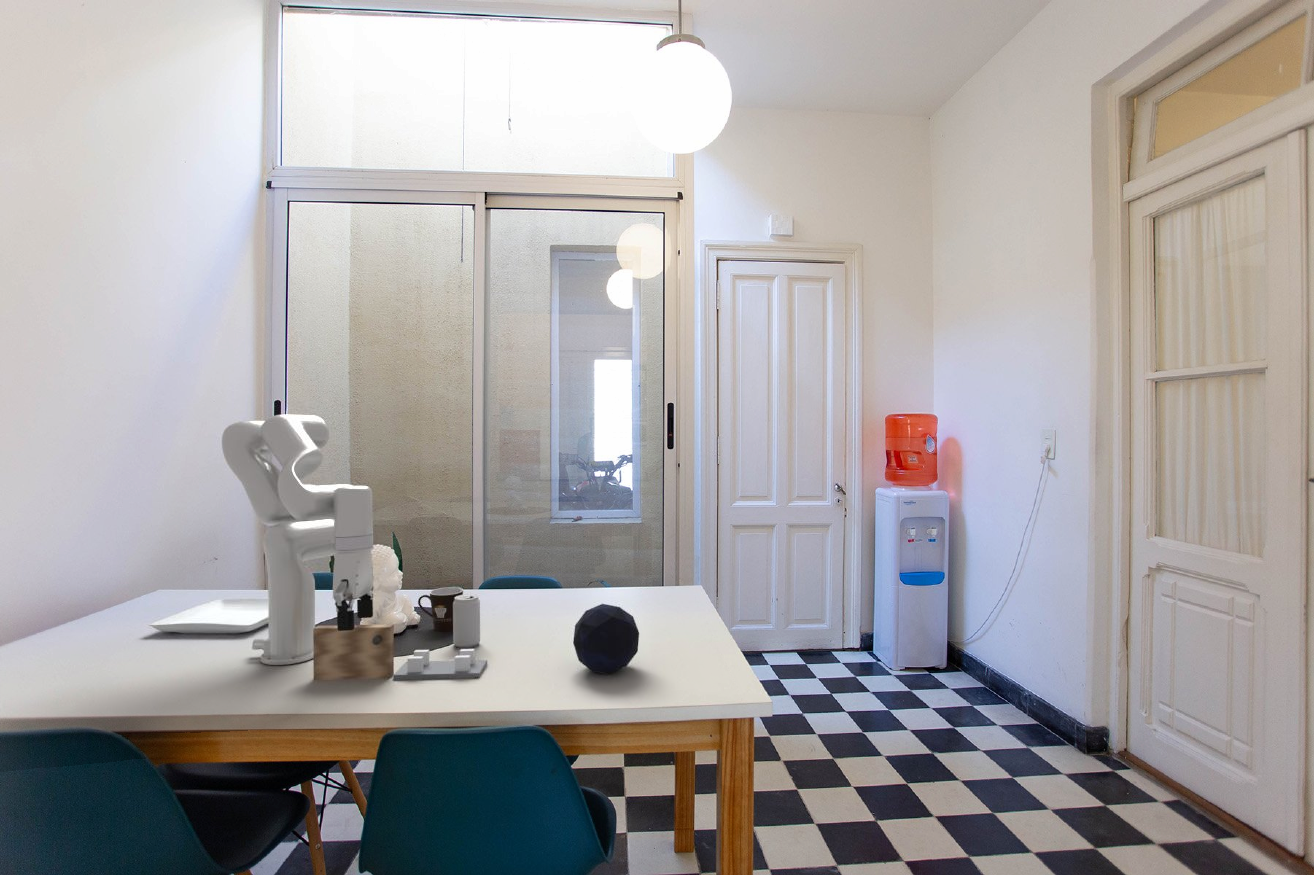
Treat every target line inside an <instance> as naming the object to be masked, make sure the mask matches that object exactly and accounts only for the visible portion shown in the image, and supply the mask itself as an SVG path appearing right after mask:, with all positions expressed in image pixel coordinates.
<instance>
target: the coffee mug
mask: <svg viewBox="0 0 1314 875" xmlns="http://www.w3.org/2000/svg"><path fill="white" fill-rule="evenodd" d="M459 595H464V589H463V588H461V587H453V586H452V587H440V588H435V589H432V590H430V591H429V595H427V594H423V595H421V596H419V598H418V601H417V604H418V606H419V608H420V609H421V610H422V611H423V612H424V613H425V614H426V615H428V616H430V618H432V621H433V622H432V624H433V630H434V631H435V632H438V633H439V632H440V633H447V632H453V602H454V601H455V597H456V596H459ZM423 598H427V599H429V601H430V606H431V612H430V611H428V610H427V609H426V608H424V607H423V606H422V604H421V601H422V599H423Z"/></svg>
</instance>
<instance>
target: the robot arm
mask: <svg viewBox="0 0 1314 875" xmlns="http://www.w3.org/2000/svg"><path fill="white" fill-rule="evenodd" d="M329 440H330V430H329V427H328V425H327V422H326V421H325V420H324V419H323V418H321V417H320V416H317V415H312V414H276V415H275V414H274V415H271V416H269V417H267V418H266V419H264V420H242V421H237V422H234V423H231V424H230V425H228V426H227V427H225V429H224V430H223V433H222V436H221V450H222V453H223V454H222V455H223V457H224V459H225V461H226V463H227V465H228V468H230V470H231V471H232V472H233V474H234V475H235V476H236V477H237V479H238V480H239V482H241V484H242V486H243V488H244V491H245V493H246V495H247V497H248V500H249V501H250V503H251V506H252V508H253V511H254V513H255V515H256V516H257V518H258V520H259V522H261V524H263V525H266V526H270V527H269V528H268V529H267V530H266V531H265V532H264V535H263V538H262V546H263V553H264V557H265V563H266V569H267V570H266V571H267V594H268V597H267V598H268V624H267V625H268V627H267V628H268V637H267V638H255V639H253V641H252V646H251V649H252V650H253V651H254V650H262V651H263V653H262V654H261V655H260V662H261V663H262V664H264V665H269V666H270V665H271V666H282V665H283V666H285V665H292V664H298V663H302V662H306V661H310V660H313V628H315V627H316V580H315V577H314V574H313V572H312V571H311V570H310V569H309V567H308V566H307V565H306V564H305V561H310V560H315V559H322V558H328V557H332V556H334V562H333V571H332V572H333V573H332V576H333V577H332V598H333V600H334V601H335V602H334V605H335V612H336V615H337V616H336V617H337V619H336V622H337V623H336V624H337V629H338V631H348V630H353V629H354V625H355V610H354V609H353V608H354V604H355V600H356V606H357V607H356V611H357V613H356V616H357V618H358V619H368V618H373V617H374V600H373V598H374V593H373V591H374V589H375V588H374V580H375V577H374V568H373V567H374V566H373V565H374V564H373V554H372V550H374V523H373V522H374V521H373V520H374V518H373V517H374V516H373V515H374V514H373V512H374V511H373V492H372V488H371V487H369V486H367V485H353V484H348V483H347V484H346V483H345V484H343V483H339V484H338V483H337V484H323V485H315V484H303V483H302V482H301V481H302V479H305V478H307V477H308V476H310V475H312V474H314V473H315V472H316V471H317V470H318V469H319V468H320V467H321V465H322V462H323V459H324V456H323V453H322V450H321V449H322V448H324V447H326V446H327V444H328V442H329ZM262 455H263V456H265V455H269V456H270V455H273V456H274V457H275V459H276V460H277V462H279V465H280V466H281V470H280V469H279V468H278V467H277V466H276V465H275V464H273V463H272V462H271V461H269V460H267V459H266V458H264V457H263V456H262Z"/></svg>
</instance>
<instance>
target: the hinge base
mask: <svg viewBox="0 0 1314 875" xmlns="http://www.w3.org/2000/svg"><path fill="white" fill-rule="evenodd" d="M475 656H476V649H475V648H460V650H459V655H455V657H454V660H430V649H416V650H414V651H413V655H412V656H408V657H407V658H406V659H407V661H406V662H404V663H403V664H402V666H400V668H399V669H397V671H396V672H394V675H393V676H392V677H393V681H395V680H396V681H398V680H401V681H402V680H435V679H437V680H439V679H440V680H441V679H442V680H443V679H445V678H446V679H447V678H448V679H478V678H477V677H479V678H480V677H481V676H482V674H483V673H484V671H485V669H486V667H487V666H488V659H478V660H477V659H476V658H475ZM475 677H476V678H475ZM448 679H447V680H448Z"/></svg>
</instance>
